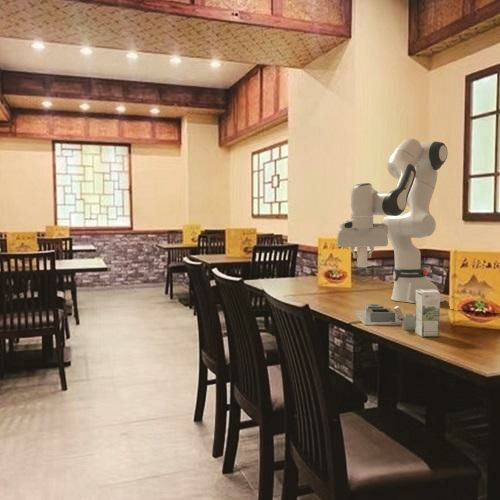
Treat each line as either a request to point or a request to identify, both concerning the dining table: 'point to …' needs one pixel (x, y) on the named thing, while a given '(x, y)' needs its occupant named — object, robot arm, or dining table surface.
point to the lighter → (406, 319)
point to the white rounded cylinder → (362, 257)
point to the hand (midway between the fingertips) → (362, 257)
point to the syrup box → (427, 312)
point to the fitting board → (377, 315)
